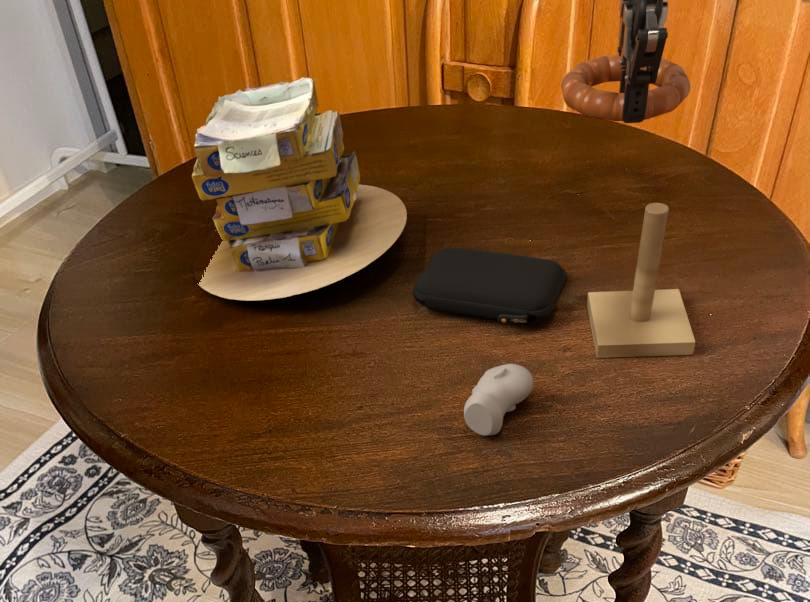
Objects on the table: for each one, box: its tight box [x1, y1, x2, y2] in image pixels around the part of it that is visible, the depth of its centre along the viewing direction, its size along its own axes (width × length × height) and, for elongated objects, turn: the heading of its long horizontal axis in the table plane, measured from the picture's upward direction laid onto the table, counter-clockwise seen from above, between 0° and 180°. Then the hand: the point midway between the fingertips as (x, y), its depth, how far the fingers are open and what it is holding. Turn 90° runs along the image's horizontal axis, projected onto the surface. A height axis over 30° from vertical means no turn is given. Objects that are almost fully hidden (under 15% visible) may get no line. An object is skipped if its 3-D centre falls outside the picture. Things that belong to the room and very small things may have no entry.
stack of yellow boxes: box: [191, 77, 408, 302], centre depth 92 cm, size 25×25×17 cm
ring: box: [560, 54, 691, 122], centre depth 92 cm, size 13×13×3 cm
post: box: [586, 202, 696, 359], centre depth 80 cm, size 9×9×12 cm
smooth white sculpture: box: [463, 363, 534, 437], centre depth 76 cm, size 4×8×5 cm
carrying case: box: [412, 246, 568, 325], centre depth 88 cm, size 11×3×15 cm
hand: (630, 114), depth 89 cm, fingers closed on ring, 2 cm apart
